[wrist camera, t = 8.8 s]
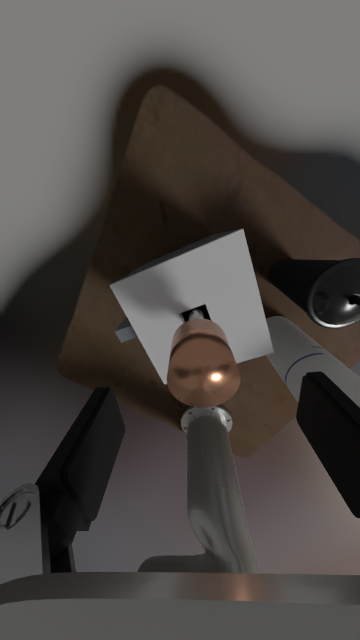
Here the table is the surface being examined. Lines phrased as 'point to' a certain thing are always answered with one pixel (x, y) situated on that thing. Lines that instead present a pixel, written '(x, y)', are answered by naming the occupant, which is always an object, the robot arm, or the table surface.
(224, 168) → the table surface
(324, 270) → the drinking cup
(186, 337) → the copper piston
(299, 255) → the table surface
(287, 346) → the cylindrical container
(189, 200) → the table surface
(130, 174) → the table surface
